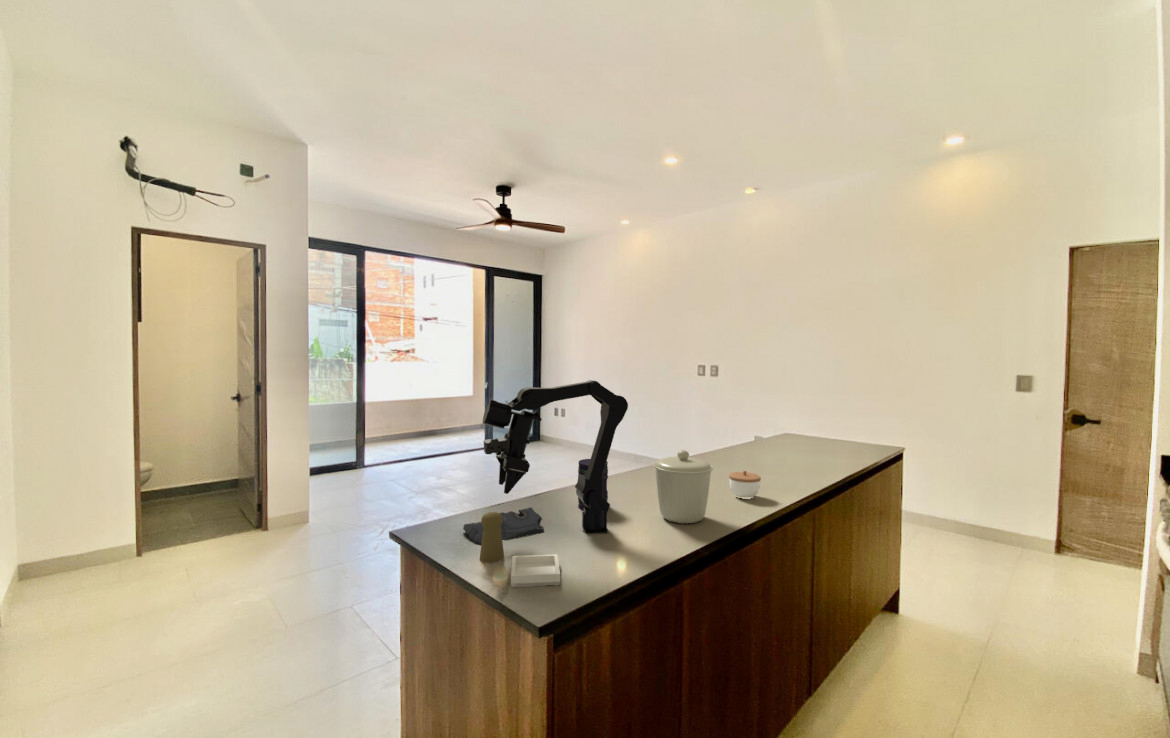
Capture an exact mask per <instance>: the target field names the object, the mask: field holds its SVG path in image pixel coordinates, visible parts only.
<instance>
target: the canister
mask: <svg viewBox="0 0 1170 738" xmlns="http://www.w3.org/2000/svg"><path fill="white" fill-rule="evenodd" d="M652 465H653V467H654V469H655V477H656V479H655V480H656V489H657V497H658V498H657V499H658V506H659V511H660V513H661V516H662V517H663V518H664V519H665V520H667V521H669V522H671V523H676V522H677V524H685V523H686V524H688V523H689V524H694V523H698V521H699V522H700V521H702V520H703V519H704V517H705V515H706V512H707V511H706V510H707V506H708V499H709V491H710V482H711V477H712V476H711V474H712V471H713V470H714V466H713V464H710V463H709V462H708V461H707V460H704V459H701V458H697V457H690V453H689V451H687V450H685V449H684V450H683V449H680V450H679V451H678V452H677V456H667V457H663V458H660V459H658V460H657V461H655V462H653V464H652Z"/></svg>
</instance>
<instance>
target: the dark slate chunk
mask: <svg viewBox="0 0 1170 738" xmlns="http://www.w3.org/2000/svg"><path fill="white" fill-rule="evenodd" d="M499 513H500V514H501V515H502V518H503V522H502V525H501V526H500V527H501V535H502V540H505V541H509V540H508V539H511V540H514V538H515V539H518V538H519V537H520V538H523V536H524V537H527V535H529V536H532V534H533V535H537V533H538V534H541V533H540V532H542V533H545V530H544V529H545V528H544V527H542V526H541V521H542V520H543V518H542V517H541V515H540V514H539V513H537V512H536V511H535V510H534V509H533V507H527V508H522V509H518V512H514V511H513V510H512V511H510V510H509V511H508V512H499ZM462 527H463V529H462V530H464V531H465V534H467V535H468V536H469V537H468V538H469V539H471V540H472V541H473V542H474V544H476V545H479V546H481V544H482V536H483V529H484V527H483V526H482V523H481V521H478V522H471V523H470V522H469V523H464V524H463V526H462ZM520 538H519V539H520Z"/></svg>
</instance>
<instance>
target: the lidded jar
mask: <svg viewBox="0 0 1170 738" xmlns="http://www.w3.org/2000/svg"><path fill="white" fill-rule="evenodd" d="M728 479H729V481H728V482H729V488H730V491H731V493H732V495H734V496H735V495H736V496H739V497H753V498H754V496H755V497H756V496H757V495H758V494H759V491H760V488H761V476H760V475H759V474H756V473H753V472H747V470H743V471H735V472H731V473H729V475H728Z"/></svg>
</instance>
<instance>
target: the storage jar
mask: <svg viewBox="0 0 1170 738" xmlns="http://www.w3.org/2000/svg"><path fill="white" fill-rule="evenodd" d="M590 460H591V458H584V459H580V460H578V469H577V470H578V471H577V473H578V475H577V477H578V476H579V474H581V475H584V474H585V473H586V471H587V469H588V466H589V463H590ZM608 465H609V464H608V461H607V462H606V465H605V469H604V472H603V494H602V497H603V498H604V499H605V500H606V501H607V502H608V499H609V496H608V494H609V493H608V492H609V491H608V477H609V469H608V467H609V466H608ZM577 500H578V502H577V503H578V509H579V510H581V511H584V506H585V505H584V504H583V502H582V500H581V499H579V498H578V497H577Z"/></svg>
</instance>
